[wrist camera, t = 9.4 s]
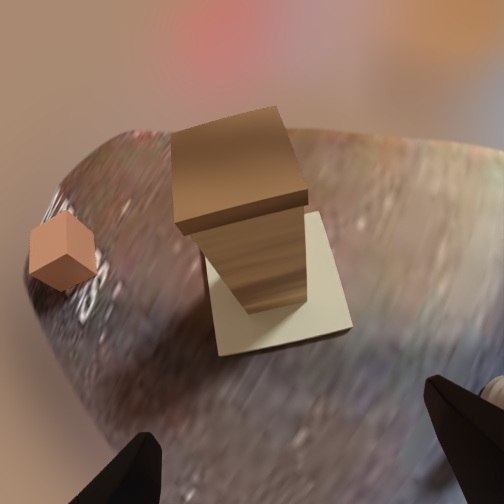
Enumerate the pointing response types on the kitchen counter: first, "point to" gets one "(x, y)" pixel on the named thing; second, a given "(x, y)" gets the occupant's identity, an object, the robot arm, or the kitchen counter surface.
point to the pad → (288, 317)
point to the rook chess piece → (495, 392)
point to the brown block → (244, 205)
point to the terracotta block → (62, 252)
